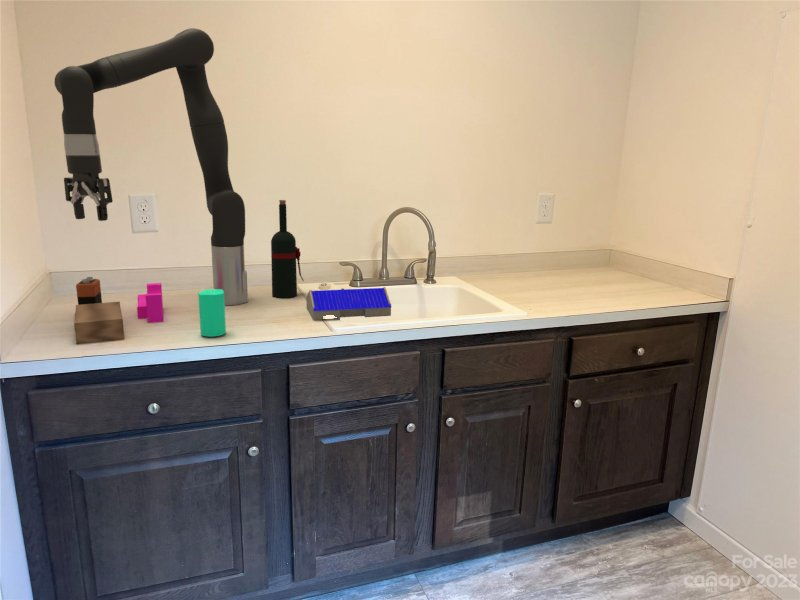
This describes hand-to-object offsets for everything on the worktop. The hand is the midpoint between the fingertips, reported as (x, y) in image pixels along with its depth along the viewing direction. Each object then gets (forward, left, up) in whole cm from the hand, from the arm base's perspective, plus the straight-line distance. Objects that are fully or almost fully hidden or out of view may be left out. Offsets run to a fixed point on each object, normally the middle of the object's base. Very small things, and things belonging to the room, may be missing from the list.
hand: (91, 219), depth 147 cm
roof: (-63, +17, -27) cm, 71 cm away
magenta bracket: (-12, +1, -27) cm, 29 cm away
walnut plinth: (0, +12, -26) cm, 29 cm away
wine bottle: (-53, -7, -26) cm, 59 cm away
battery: (+2, -6, -26) cm, 27 cm away
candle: (-25, +24, -26) cm, 43 cm away
